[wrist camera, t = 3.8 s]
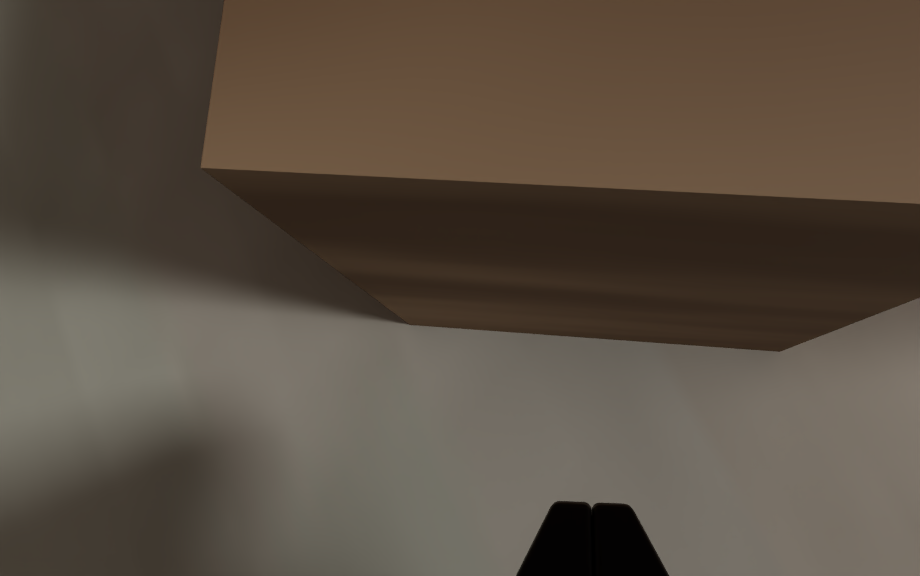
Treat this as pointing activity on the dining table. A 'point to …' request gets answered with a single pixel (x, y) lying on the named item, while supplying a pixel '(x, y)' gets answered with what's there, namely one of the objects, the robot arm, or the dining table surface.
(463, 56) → the wooden block
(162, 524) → the dining table surface
